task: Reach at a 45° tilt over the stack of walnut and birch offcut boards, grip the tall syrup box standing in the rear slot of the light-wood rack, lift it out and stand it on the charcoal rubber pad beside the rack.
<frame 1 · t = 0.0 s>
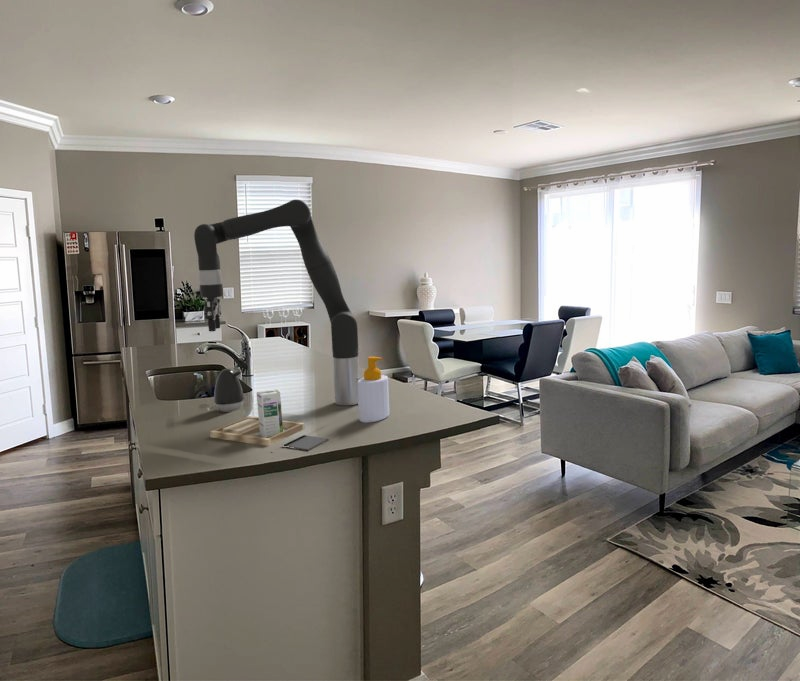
hand: (214, 329, 202), 29 cm above the counter, tool pointing down, fingers open, 8 cm apart
soap bottle: (374, 418, 191), on the counter
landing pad: (304, 443, 167), on the counter
offcut rack: (271, 438, 172), on the counter
syrup box: (271, 439, 172), resting in offcut rack
dark grey tapered dome: (230, 411, 207), on the counter
offcut top: (244, 430, 177), point 1 cm above the counter, touching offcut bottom
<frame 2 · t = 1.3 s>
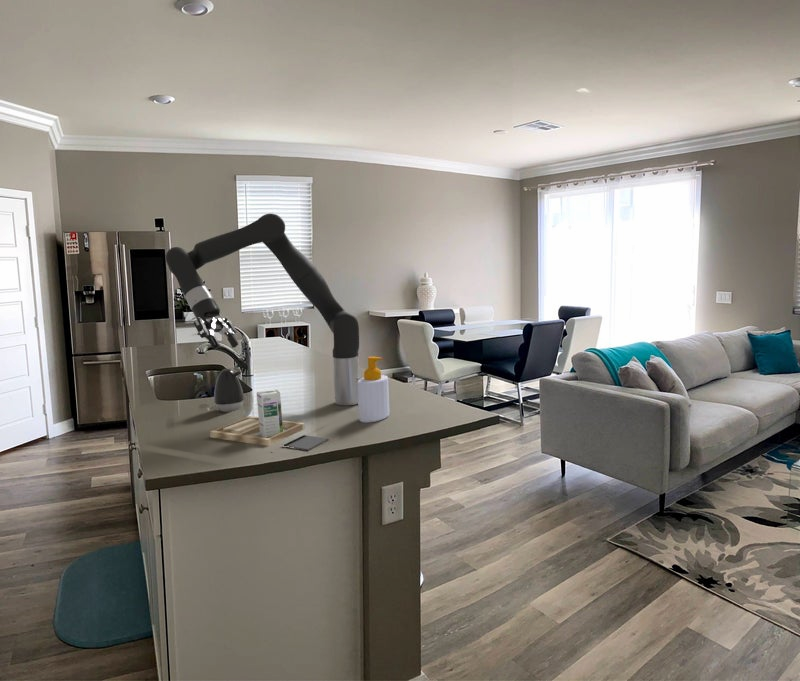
hand: (226, 347, 179), 27 cm above the counter, tool tilted 35°, fingers open, 8 cm apart
nothing on the counter moved.
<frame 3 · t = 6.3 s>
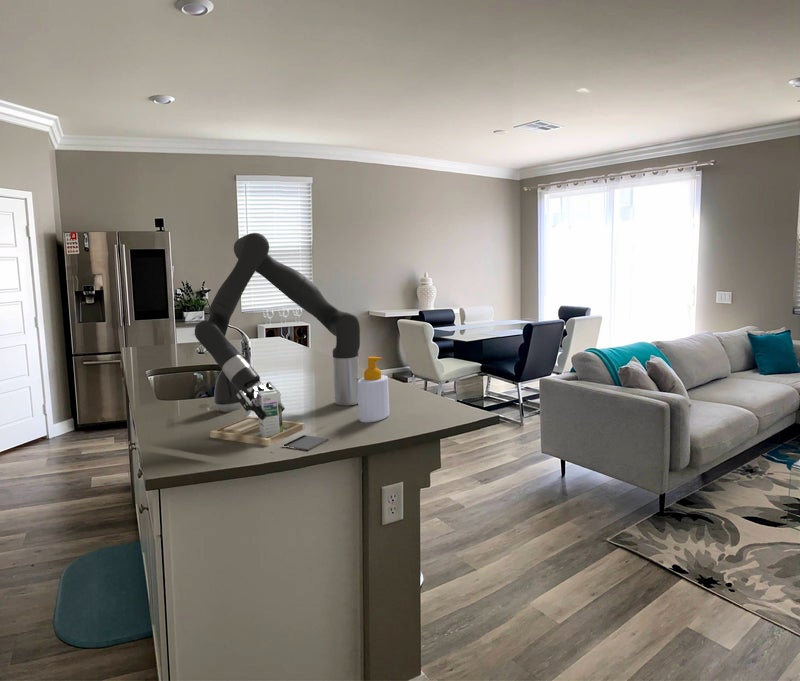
hand: (273, 414, 171), 8 cm above the counter, tool tilted 45°, fingers closed on syrup box, 7 cm apart
syrup box: (271, 439, 172), resting in offcut rack, touching gripper
everything else where it was.
when the fingers open (9 cm above the counter, at t = 13.6 s): syrup box drops 1 cm, resting on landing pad.
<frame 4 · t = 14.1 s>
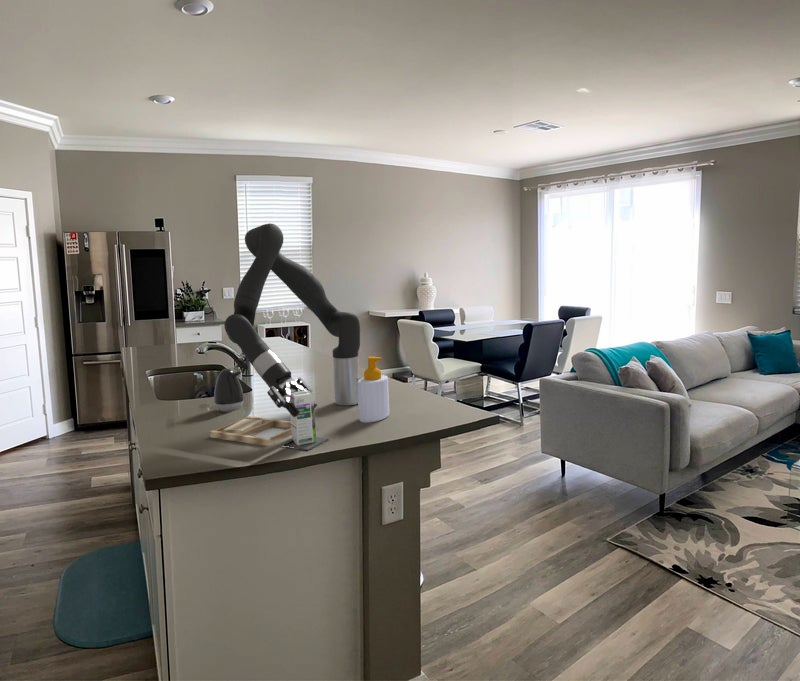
hand: (306, 411, 165), 10 cm above the counter, tool tilted 45°, fingers open, 8 cm apart
syrup box: (304, 442, 167), resting on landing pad, touching gripper
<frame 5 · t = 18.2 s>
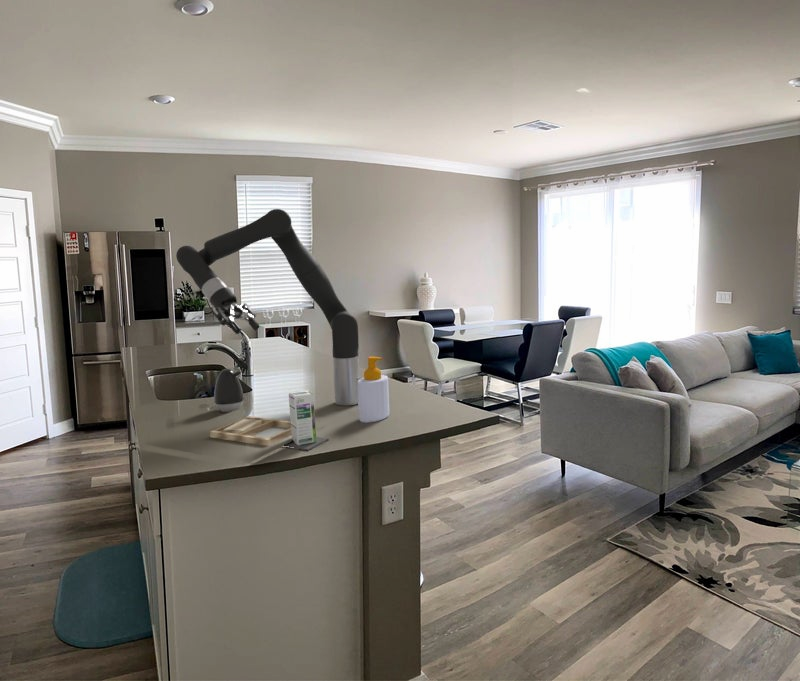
hand: (248, 330, 185), 31 cm above the counter, tool tilted 45°, fingers open, 8 cm apart
syrup box: (304, 442, 167), resting on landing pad
everything else where it was.
at the end: syrup box inside the target area on the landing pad (0.3 cm from its centre), point 0.3 cm above the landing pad's base; syrup box tilted 0°; offcut top moved 0.8 cm from its start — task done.
